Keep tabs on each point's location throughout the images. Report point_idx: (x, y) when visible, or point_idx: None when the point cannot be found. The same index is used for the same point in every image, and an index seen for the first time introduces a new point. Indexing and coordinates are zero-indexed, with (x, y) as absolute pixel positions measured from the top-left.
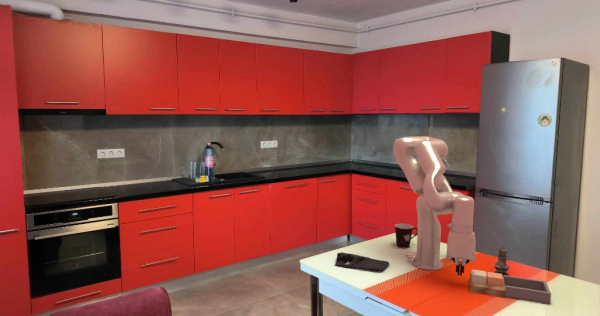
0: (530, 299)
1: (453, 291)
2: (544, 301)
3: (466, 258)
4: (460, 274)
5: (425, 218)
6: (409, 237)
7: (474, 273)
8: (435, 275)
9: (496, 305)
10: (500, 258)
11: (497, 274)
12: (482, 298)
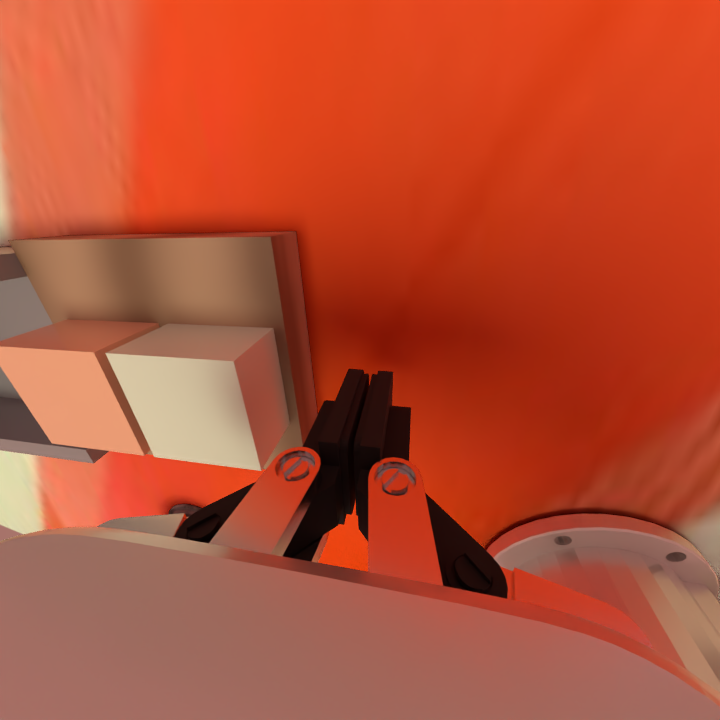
0: None
1: (432, 167)
2: None
3: (130, 558)
4: (360, 373)
5: None
6: None
7: (217, 390)
8: (555, 447)
9: (43, 4)
10: None
11: (64, 423)
12: (181, 125)
